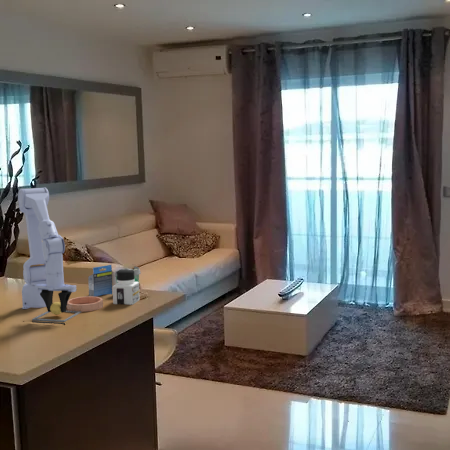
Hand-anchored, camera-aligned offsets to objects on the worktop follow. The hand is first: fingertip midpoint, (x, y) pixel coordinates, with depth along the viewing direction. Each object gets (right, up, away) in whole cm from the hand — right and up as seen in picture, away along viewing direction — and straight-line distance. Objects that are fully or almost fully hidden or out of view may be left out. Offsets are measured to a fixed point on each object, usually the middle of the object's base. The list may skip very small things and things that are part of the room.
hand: (56, 311), depth 210 cm
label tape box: (+9, +1, +32) cm, 33 cm away
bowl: (+7, -1, +12) cm, 14 cm away
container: (+21, 0, +19) cm, 28 cm away
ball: (0, -1, 0) cm, 1 cm away
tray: (0, -2, 0) cm, 2 cm away
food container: (+21, +2, +34) cm, 40 cm away
